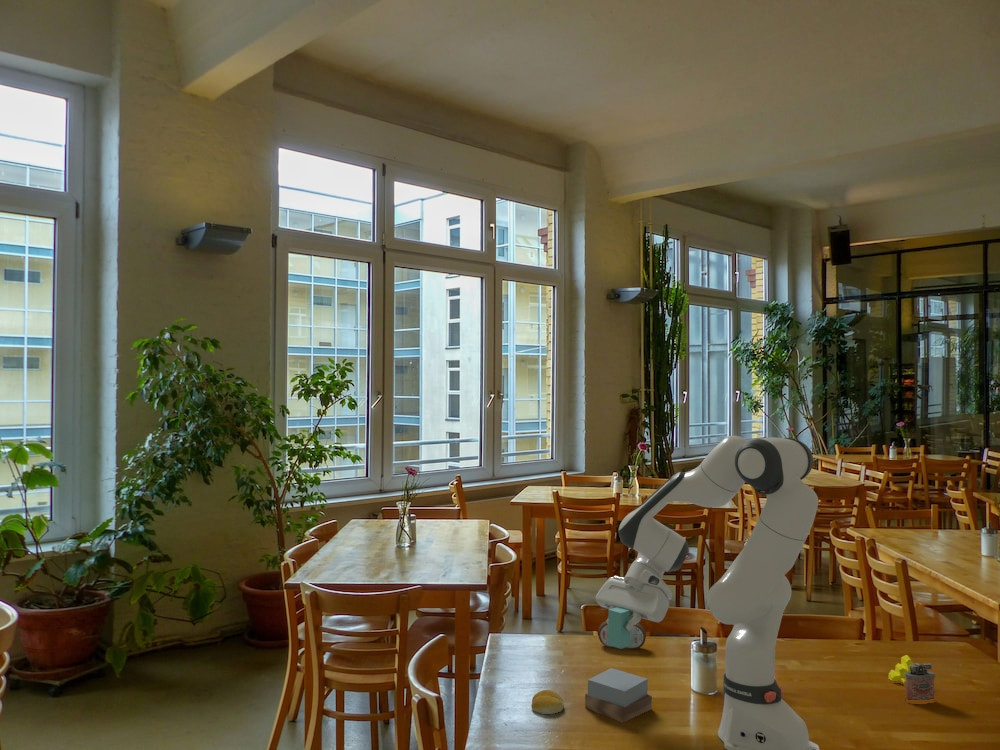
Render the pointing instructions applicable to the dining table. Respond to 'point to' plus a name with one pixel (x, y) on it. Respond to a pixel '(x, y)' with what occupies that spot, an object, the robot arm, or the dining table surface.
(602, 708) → the tower base
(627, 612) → the pillar block
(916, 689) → the lighter
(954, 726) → the dining table surface
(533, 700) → the bread roll
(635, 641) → the tin
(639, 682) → the tower top
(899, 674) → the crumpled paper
